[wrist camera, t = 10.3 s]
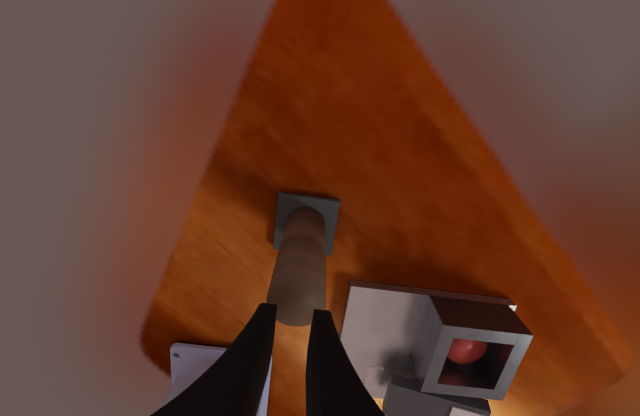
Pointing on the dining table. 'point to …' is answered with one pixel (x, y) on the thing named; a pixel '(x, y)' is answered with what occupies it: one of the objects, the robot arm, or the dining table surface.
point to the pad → (295, 201)
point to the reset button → (466, 350)
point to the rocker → (428, 401)
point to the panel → (431, 339)
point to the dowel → (300, 269)
